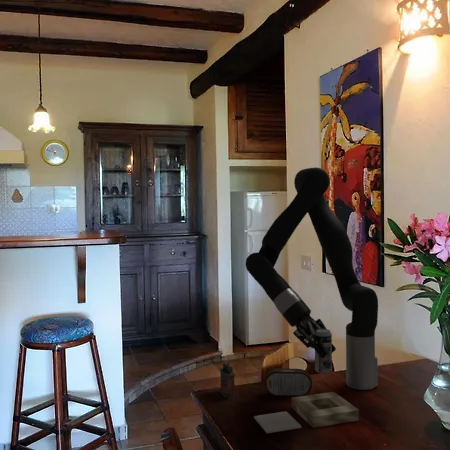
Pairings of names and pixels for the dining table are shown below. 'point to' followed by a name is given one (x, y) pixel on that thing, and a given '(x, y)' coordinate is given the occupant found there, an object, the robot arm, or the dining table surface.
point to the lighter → (227, 381)
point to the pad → (277, 422)
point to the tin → (288, 382)
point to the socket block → (334, 413)
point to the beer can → (326, 341)
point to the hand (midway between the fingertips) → (329, 353)
